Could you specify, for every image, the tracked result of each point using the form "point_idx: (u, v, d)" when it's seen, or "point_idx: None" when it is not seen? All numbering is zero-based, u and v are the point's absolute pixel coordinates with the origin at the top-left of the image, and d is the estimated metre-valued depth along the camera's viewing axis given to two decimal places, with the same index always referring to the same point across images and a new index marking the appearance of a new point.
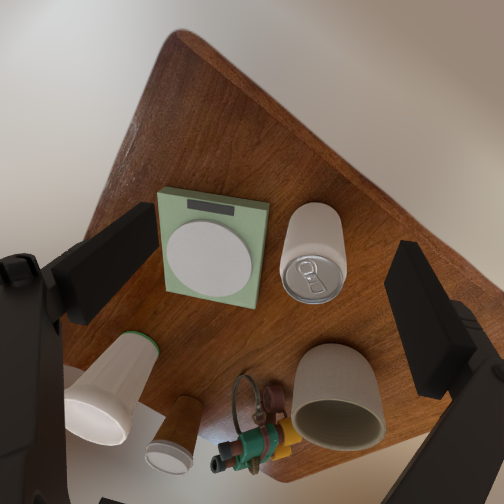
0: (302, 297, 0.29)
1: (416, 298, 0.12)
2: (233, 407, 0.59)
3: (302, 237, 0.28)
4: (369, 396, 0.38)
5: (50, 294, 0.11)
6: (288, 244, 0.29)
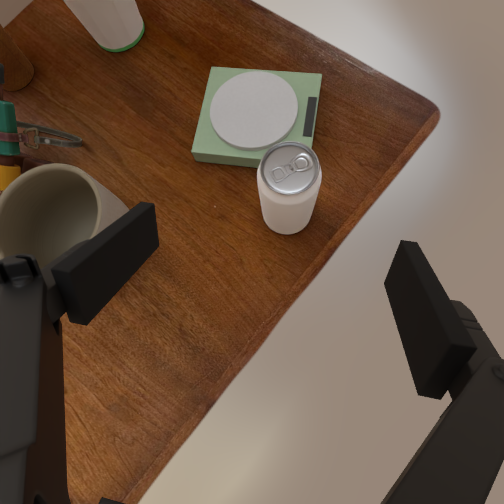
0: (265, 161, 0.28)
1: (416, 298, 0.12)
2: (20, 123, 0.44)
3: None
4: None
5: (50, 294, 0.11)
6: None
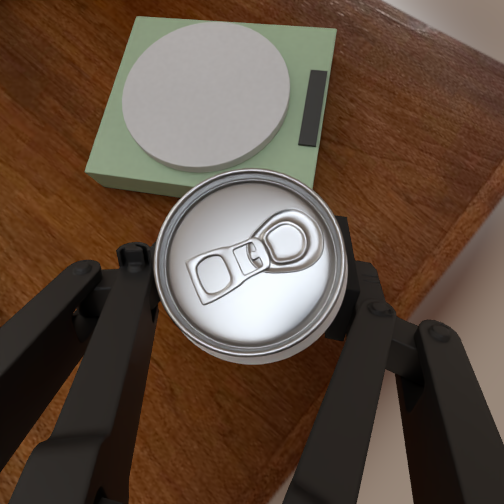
0: (175, 230, 0.09)
1: None
2: None
3: None
4: None
5: (154, 283, 0.12)
6: None
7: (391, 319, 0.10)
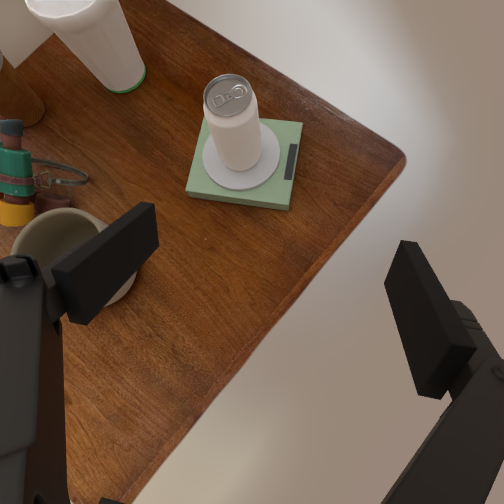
0: (208, 91, 0.34)
1: (416, 298, 0.12)
2: (33, 159, 0.49)
3: None
4: None
5: (50, 294, 0.11)
6: None
7: None
